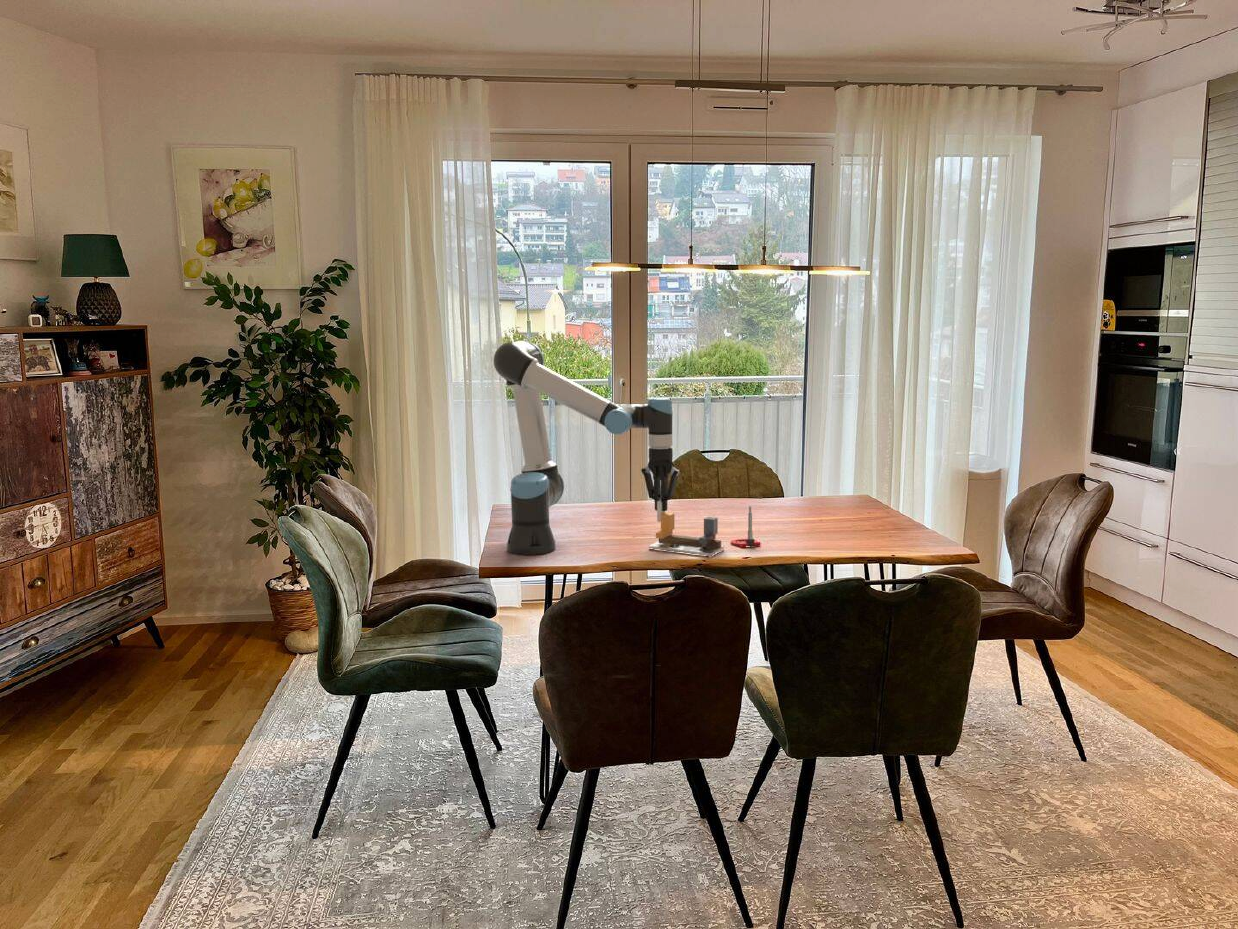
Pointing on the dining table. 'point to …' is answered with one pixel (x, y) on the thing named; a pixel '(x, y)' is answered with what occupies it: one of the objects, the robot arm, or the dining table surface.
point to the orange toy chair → (666, 526)
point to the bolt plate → (687, 545)
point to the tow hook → (750, 540)
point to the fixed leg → (709, 531)
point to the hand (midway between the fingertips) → (661, 520)
